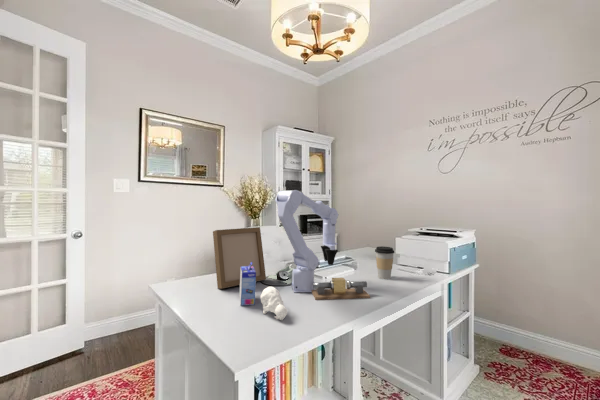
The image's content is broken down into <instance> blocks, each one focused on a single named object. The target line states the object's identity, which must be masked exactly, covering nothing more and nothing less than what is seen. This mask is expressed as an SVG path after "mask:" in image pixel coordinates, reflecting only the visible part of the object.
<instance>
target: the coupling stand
mask: <svg viewBox="0 0 600 400" xmlns="http://www.w3.org/2000/svg"><path fill="white" fill-rule="evenodd" d="M367 287H368V283H367V281H366V280H365V281H350V280H348V279H347V280H346V294H333V292H332V290H334V282H333V281H332V280H330V281H328V282H325V281H324V282H314V283H313V289H316V290H311V291H312V292H311V294H312V296H313V298H314V300H316V301H320V300H322V301H325V300H344V299H345V300H348V299H349V300H352V299H370V298H371V295H370V294H369V293H368V292H367V291H366V290H365V289H364V288H367Z"/></svg>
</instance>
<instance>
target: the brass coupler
mask: <svg viewBox="0 0 600 400" xmlns="http://www.w3.org/2000/svg"><path fill="white" fill-rule="evenodd" d="M331 281H333V282H334V290H332V292H333V294H346V289H347V288H346V281H347V280H346V279H345V278H344V277H331Z"/></svg>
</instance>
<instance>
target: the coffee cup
mask: <svg viewBox="0 0 600 400" xmlns="http://www.w3.org/2000/svg"><path fill="white" fill-rule="evenodd" d="M374 252H375V254H376V256H375V258H376V268H377V269H376V270H377V277H378V278H379V279H382V280H390V279H391V276H392V269H393V263H394V254H395V250H394V248H393V247H391V246H384V245H383V246H377V247H376V248H375V249H374Z"/></svg>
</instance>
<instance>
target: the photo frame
mask: <svg viewBox="0 0 600 400" xmlns="http://www.w3.org/2000/svg"><path fill="white" fill-rule="evenodd" d="M261 232H262V231H261V227H260V226H258V227H257V226H256V227H242V228H228V229H227V228H226V229H216V230H213V231H212V236H213V249H214V260H215V261H214V262H215V271H216V272H215V273H216V283H217V289H227V288H230V287H235V286H236V287H237V286H240V271H241V267H243V266H249V264H250V263H251V262H252V263H253V264H252V266H254V269H255V271H256V282H259V281H265V280H267V277H266V266H265V260H264V257H265V256H264V249H263V241H262V233H261ZM250 266H251V265H250Z"/></svg>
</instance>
